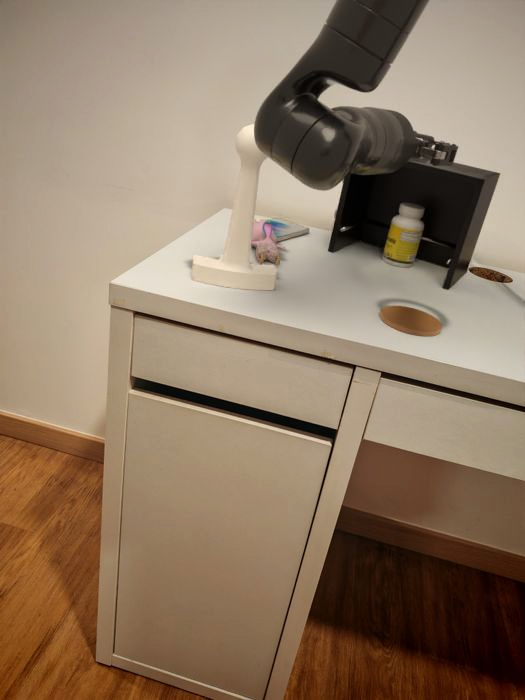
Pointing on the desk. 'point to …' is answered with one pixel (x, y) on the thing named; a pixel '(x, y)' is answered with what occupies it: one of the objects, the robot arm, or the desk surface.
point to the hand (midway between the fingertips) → (416, 143)
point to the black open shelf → (439, 215)
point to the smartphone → (287, 229)
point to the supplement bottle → (404, 236)
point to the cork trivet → (410, 320)
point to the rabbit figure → (265, 242)
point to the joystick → (239, 230)
